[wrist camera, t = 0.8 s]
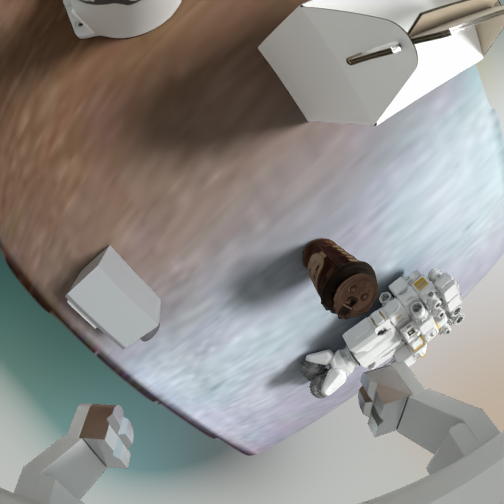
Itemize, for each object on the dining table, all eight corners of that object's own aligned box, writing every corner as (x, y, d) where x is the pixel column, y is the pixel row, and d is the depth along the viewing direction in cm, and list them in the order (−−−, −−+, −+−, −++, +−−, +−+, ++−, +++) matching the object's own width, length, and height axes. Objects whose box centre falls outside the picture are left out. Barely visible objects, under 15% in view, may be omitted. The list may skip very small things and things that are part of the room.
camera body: (78, 273, 42) (64, 296, 36) (109, 244, 42) (97, 265, 35) (135, 328, 48) (130, 355, 42) (167, 305, 48) (166, 332, 41)
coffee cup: (299, 285, 51) (330, 332, 39) (288, 242, 47) (321, 284, 35) (345, 267, 51) (384, 308, 40) (338, 224, 48) (382, 258, 36)
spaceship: (444, 289, 58) (474, 321, 48) (324, 378, 66) (338, 418, 56) (426, 243, 52) (462, 275, 41) (286, 349, 59) (299, 395, 49)
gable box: (367, -2, 32) (497, -51, 7) (406, 64, 38) (550, 60, 13) (255, 48, 34) (356, -46, 9) (306, 123, 40) (457, 142, 15)
